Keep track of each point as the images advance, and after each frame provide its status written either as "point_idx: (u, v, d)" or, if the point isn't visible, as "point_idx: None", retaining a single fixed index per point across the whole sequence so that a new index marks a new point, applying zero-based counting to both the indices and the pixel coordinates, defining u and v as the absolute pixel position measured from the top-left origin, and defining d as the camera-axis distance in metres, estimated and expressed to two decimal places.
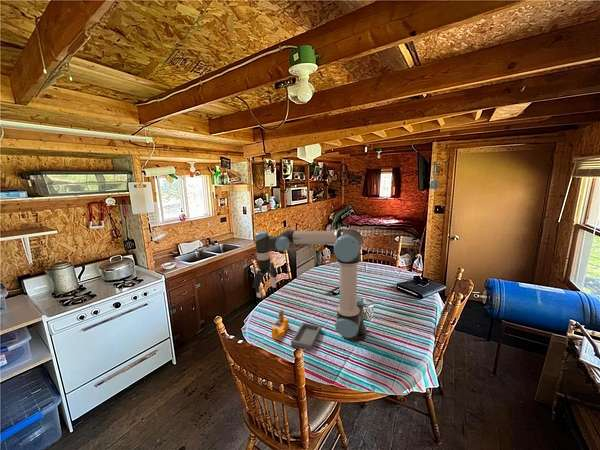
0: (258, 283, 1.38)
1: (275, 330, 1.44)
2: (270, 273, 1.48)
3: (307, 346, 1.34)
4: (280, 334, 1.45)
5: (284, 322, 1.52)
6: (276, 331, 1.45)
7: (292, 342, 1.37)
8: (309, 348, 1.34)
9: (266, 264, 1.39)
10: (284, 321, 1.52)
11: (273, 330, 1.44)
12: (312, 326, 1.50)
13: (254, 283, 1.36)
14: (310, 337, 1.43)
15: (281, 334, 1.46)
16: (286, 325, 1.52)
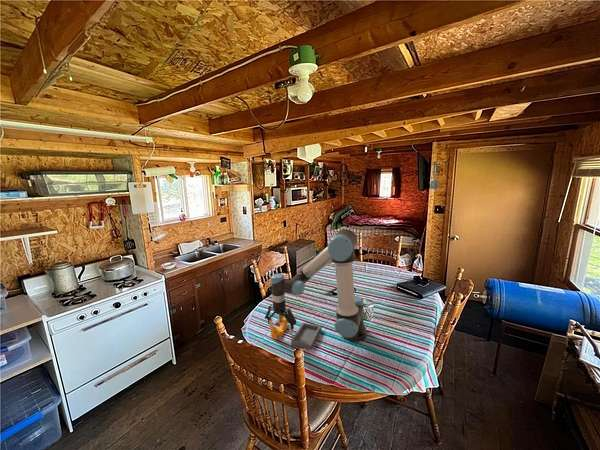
0: (269, 317, 1.49)
1: (274, 330, 1.45)
2: None
3: (307, 346, 1.34)
4: (279, 333, 1.46)
5: (283, 321, 1.52)
6: (275, 331, 1.45)
7: (292, 342, 1.37)
8: (309, 348, 1.34)
9: (273, 306, 1.43)
10: (283, 320, 1.52)
11: (272, 330, 1.45)
12: (312, 326, 1.50)
13: (266, 314, 1.51)
14: (310, 337, 1.43)
15: (280, 333, 1.47)
16: (285, 324, 1.52)
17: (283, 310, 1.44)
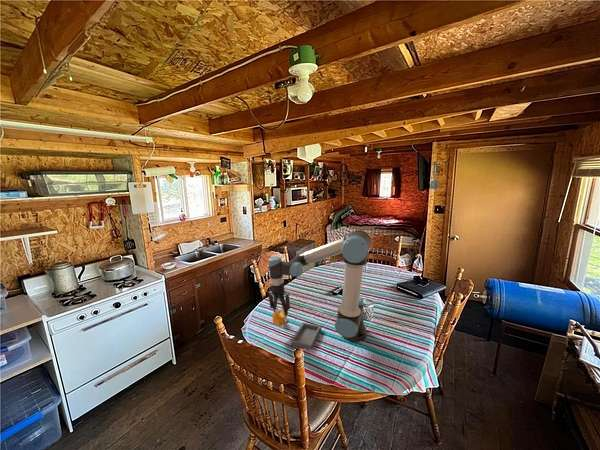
0: (273, 305, 1.46)
1: (276, 315, 1.42)
2: None
3: (307, 346, 1.34)
4: (281, 319, 1.43)
5: None
6: (277, 316, 1.43)
7: (292, 342, 1.37)
8: (309, 348, 1.34)
9: (272, 289, 1.40)
10: None
11: (274, 316, 1.42)
12: (312, 326, 1.50)
13: None
14: (310, 337, 1.43)
15: (282, 319, 1.44)
16: None
17: (282, 293, 1.41)
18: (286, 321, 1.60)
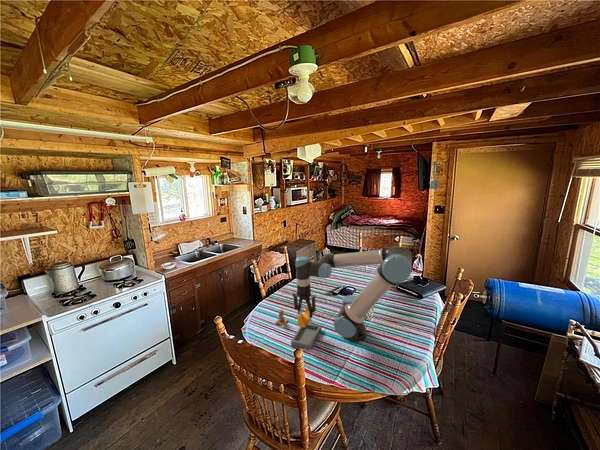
0: (298, 307, 1.40)
1: (302, 317, 1.37)
2: None
3: (307, 346, 1.34)
4: (306, 321, 1.38)
5: (308, 309, 1.45)
6: (302, 318, 1.37)
7: (292, 342, 1.37)
8: (309, 348, 1.34)
9: (298, 290, 1.35)
10: None
11: (300, 317, 1.36)
12: (312, 326, 1.50)
13: None
14: (310, 337, 1.43)
15: (307, 321, 1.39)
16: None
17: (308, 295, 1.36)
18: (286, 321, 1.60)
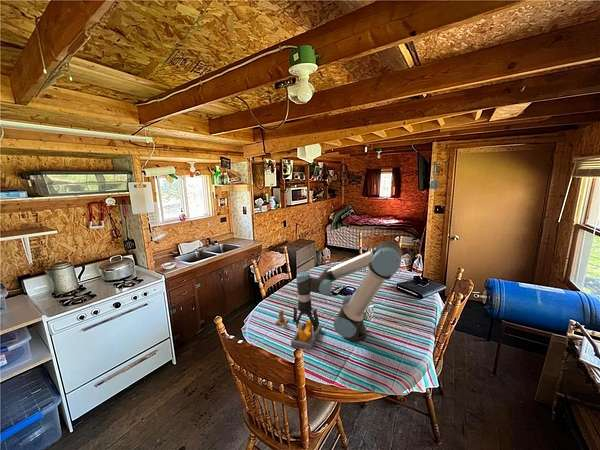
0: (296, 319, 1.43)
1: (303, 333, 1.39)
2: None
3: (307, 346, 1.34)
4: (308, 336, 1.40)
5: (308, 324, 1.47)
6: (304, 334, 1.39)
7: (292, 342, 1.37)
8: (309, 348, 1.34)
9: (299, 305, 1.37)
10: (308, 323, 1.47)
11: (301, 333, 1.38)
12: None
13: None
14: (310, 337, 1.43)
15: (308, 336, 1.41)
16: (310, 327, 1.47)
17: (309, 310, 1.38)
18: (286, 321, 1.60)
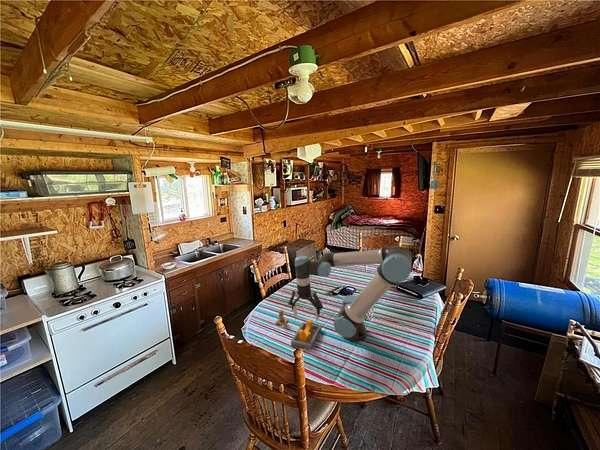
0: (293, 302, 1.41)
1: (303, 333, 1.39)
2: None
3: (307, 346, 1.34)
4: (308, 336, 1.40)
5: (308, 324, 1.47)
6: (304, 334, 1.39)
7: (292, 342, 1.37)
8: (309, 348, 1.34)
9: (298, 290, 1.35)
10: (308, 323, 1.47)
11: (301, 333, 1.38)
12: (312, 326, 1.50)
13: (290, 300, 1.43)
14: (310, 337, 1.43)
15: (308, 336, 1.41)
16: (310, 326, 1.47)
17: (308, 294, 1.35)
18: (286, 321, 1.60)
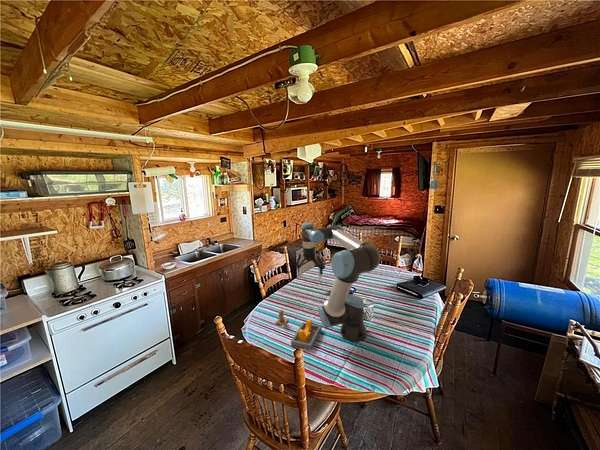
0: (299, 264, 1.62)
1: (303, 333, 1.39)
2: (316, 264, 1.57)
3: (307, 346, 1.34)
4: (307, 336, 1.40)
5: (308, 324, 1.47)
6: (303, 334, 1.40)
7: (292, 342, 1.37)
8: (309, 348, 1.34)
9: (304, 252, 1.55)
10: (308, 323, 1.47)
11: (301, 333, 1.38)
12: (312, 326, 1.50)
13: None
14: (310, 337, 1.43)
15: (308, 336, 1.41)
16: (310, 326, 1.47)
17: (313, 256, 1.56)
18: (286, 321, 1.60)
